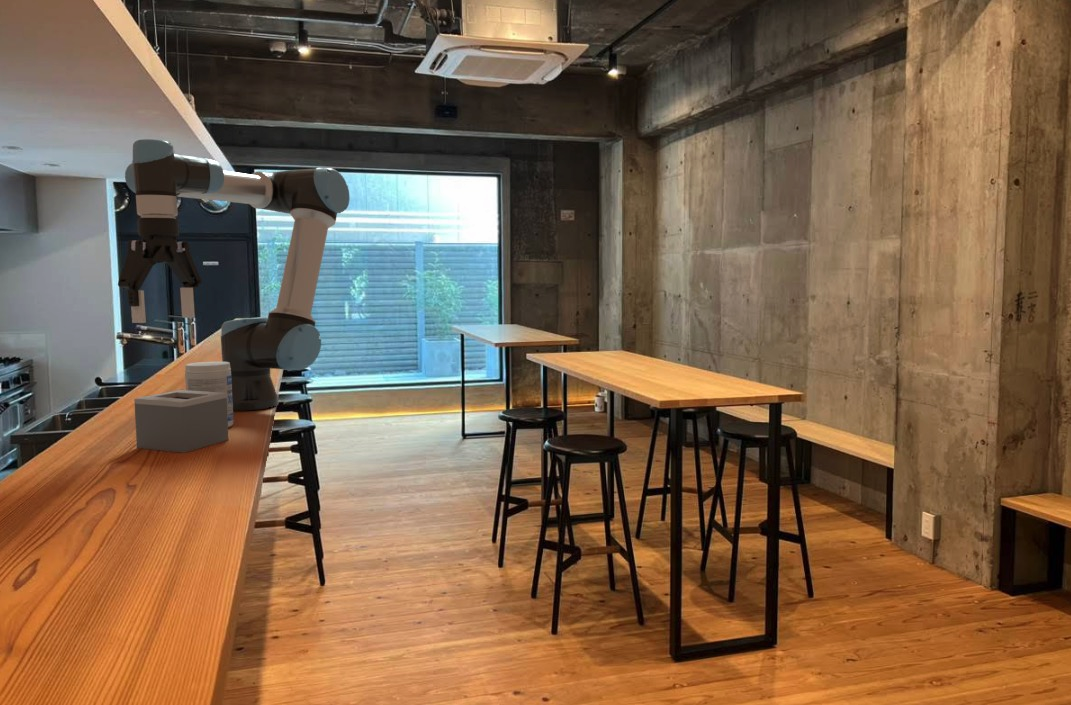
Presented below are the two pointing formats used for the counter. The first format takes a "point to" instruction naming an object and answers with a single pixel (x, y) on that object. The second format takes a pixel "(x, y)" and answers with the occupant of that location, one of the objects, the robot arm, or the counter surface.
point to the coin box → (181, 420)
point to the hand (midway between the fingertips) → (164, 320)
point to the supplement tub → (211, 380)
